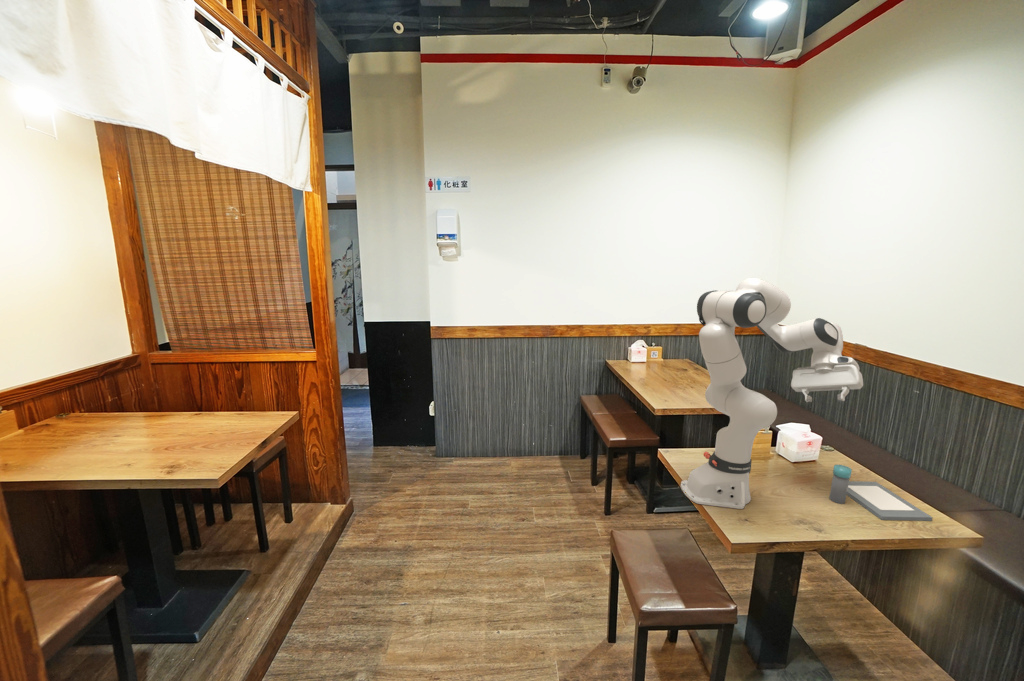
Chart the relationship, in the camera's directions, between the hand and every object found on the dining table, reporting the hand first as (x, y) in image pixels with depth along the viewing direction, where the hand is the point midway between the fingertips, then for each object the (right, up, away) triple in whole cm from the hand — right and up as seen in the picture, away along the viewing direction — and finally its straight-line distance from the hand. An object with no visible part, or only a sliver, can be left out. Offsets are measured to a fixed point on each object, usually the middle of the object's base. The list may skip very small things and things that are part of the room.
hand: (824, 400), depth 145 cm
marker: (+7, -35, +3) cm, 35 cm away
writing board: (+21, -35, +3) cm, 41 cm away
